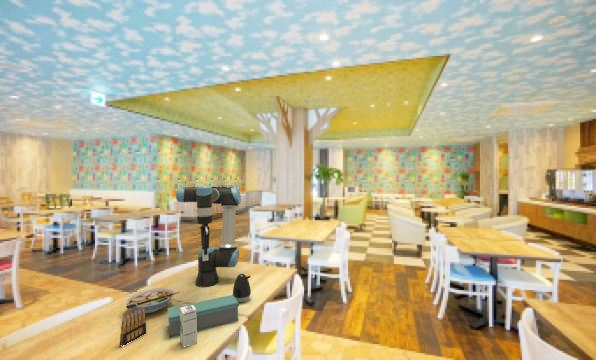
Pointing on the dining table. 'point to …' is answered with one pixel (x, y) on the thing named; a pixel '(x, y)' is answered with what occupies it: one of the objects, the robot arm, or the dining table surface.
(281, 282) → the dining table surface
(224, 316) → the gray open box
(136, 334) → the ammunition clip
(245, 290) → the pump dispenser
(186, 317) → the syrup box
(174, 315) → the cover
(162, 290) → the ramen bowl
